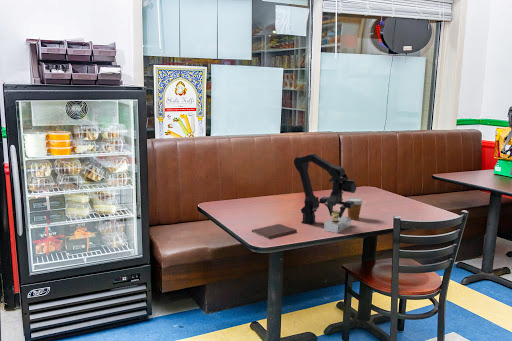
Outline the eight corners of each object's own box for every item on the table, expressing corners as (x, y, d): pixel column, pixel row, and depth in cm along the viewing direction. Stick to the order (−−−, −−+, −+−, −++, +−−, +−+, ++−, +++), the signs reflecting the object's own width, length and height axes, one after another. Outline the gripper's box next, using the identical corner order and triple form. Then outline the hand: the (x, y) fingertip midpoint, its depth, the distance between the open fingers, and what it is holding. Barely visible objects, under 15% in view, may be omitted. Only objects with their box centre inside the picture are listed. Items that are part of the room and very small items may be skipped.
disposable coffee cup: (343, 219, 289) (344, 200, 286) (347, 215, 297) (348, 196, 295) (359, 221, 285) (360, 202, 283) (362, 217, 293) (364, 198, 291)
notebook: (251, 232, 263) (251, 229, 262) (279, 226, 275) (279, 222, 274) (269, 239, 251) (269, 236, 251) (296, 233, 263) (296, 229, 263)
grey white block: (324, 230, 267) (324, 222, 266) (337, 222, 282) (338, 215, 281) (337, 233, 263) (337, 225, 262) (350, 225, 277) (350, 217, 277)
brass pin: (329, 223, 268) (329, 211, 267) (333, 220, 273) (333, 209, 271) (337, 224, 266) (338, 213, 264) (341, 222, 270) (342, 211, 269)
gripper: (315, 190, 264) (314, 217, 267) (347, 195, 254) (345, 223, 257) (324, 186, 273) (323, 213, 276) (355, 191, 263) (353, 218, 266)
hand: (335, 217), depth 269 cm, fingers closed on brass pin, 5 cm apart
